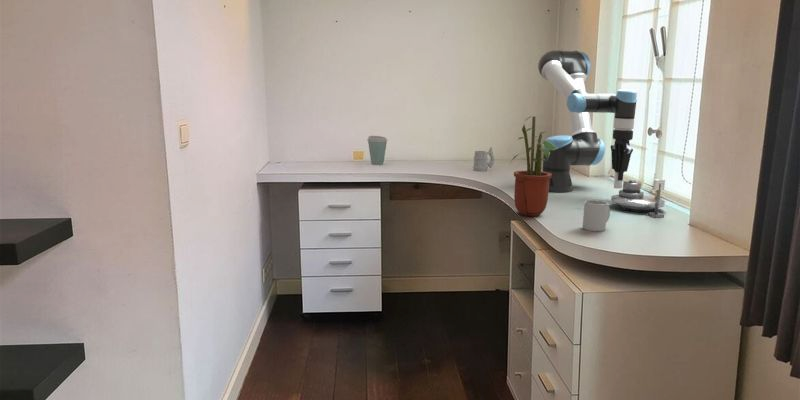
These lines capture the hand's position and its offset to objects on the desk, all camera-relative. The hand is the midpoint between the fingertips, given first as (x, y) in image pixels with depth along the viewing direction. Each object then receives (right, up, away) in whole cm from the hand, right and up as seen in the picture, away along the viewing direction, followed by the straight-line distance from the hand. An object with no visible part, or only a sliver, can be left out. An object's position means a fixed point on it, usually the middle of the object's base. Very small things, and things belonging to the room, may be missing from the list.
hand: (617, 188), depth 246 cm
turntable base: (+3, -8, -13) cm, 16 cm away
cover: (+2, -3, -9) cm, 10 cm away
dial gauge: (+5, -11, -25) cm, 28 cm away
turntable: (+3, -6, -14) cm, 15 cm away
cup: (-23, -14, -46) cm, 53 cm away
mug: (-44, +11, +74) cm, 87 cm away
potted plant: (-41, -10, -25) cm, 49 cm away
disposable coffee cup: (-100, +15, +87) cm, 133 cm away
